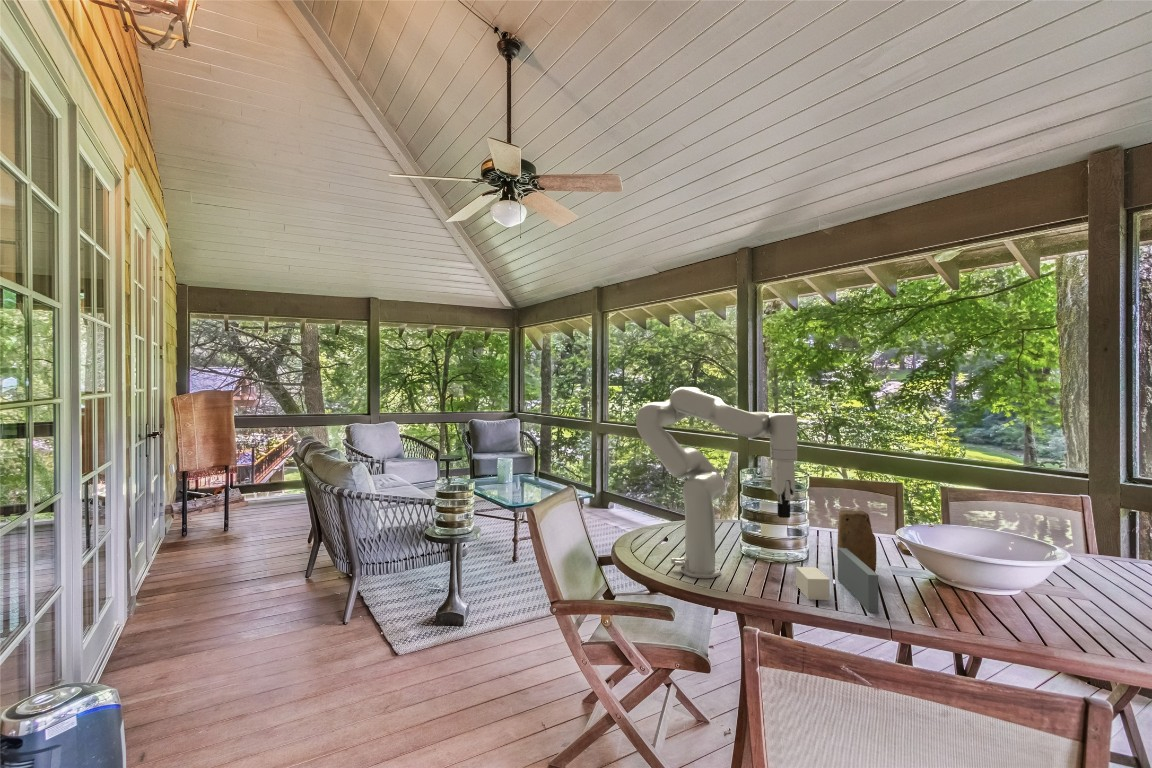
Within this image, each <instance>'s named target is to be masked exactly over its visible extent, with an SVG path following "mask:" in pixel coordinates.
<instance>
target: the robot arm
mask: <svg viewBox="0 0 1152 768" xmlns="http://www.w3.org/2000/svg"><path fill="white" fill-rule="evenodd" d="M796 415H797V414H796ZM796 415H795V413H790V412H787V413H786V412H776V413H773V412H768V411H767V412H766V411H752V412H749V411H747V410H743V409H741V408H740V409H739V408H737V407H733V406H731V405H728V404H726V403H725V402H724V400H723V399H722V398H721V397H720V396H719V397H718V396H716V395H712V394H709V393H706V392H703V391H702V390H701V389H700V388H698V387H694V386H680V387H677V388H675V389H674V390H673V391H672V392H671V394H670V396H669V398H668V400H666V401H653V402H648V403H646V404H645V403H644V405H642V406H641V407H640V408H639V409H638V412H637V414H636V420H635V421H636V422H635V425H636V429H637V432H638V434H639V436H640V438H641V440H642V441H643V442H644V443H645V444H646V445H647V447H649V449H650V450H651V452H653V454H654V455H655V457H656V458H657V459H658V460H659V461H660V462H661V464H662V465H663V467H664V468H665V469H666V470H667V472H668V473H669V474H670V475H671V476H672V477H674V478H676V479H677V478H678V479H682V478H688V479H687V480H686V481H685V482H684V484H683V487H682V498H683V505H684V521H685V522H684V523H685V524H684V525H685V526H684V528H685V529H684V530H685V531H684V535H685V537H684V538H685V539H684V540H685V541H684V542H685V543H684V545H685V550H684V551H685V552H684V553H685V554H683V556H680V557H679V558H678V557H671V559H670V563H671V564H672V565H674V564H675V565H674V566H678V567H680V572H681V573H682V574H683V575H685V576H687V577H691V578H695V579H713V578H716V577H718V576H720V575H721V569H720V568H719V567H718V566H717V565H716V514H715V509H714V504H713V501H715V500H718V499H720V498H721V497H722V496H723V495H724V494H725V492H726V482H725V480H724V478H723V476H722V474H720V472H719V471H718V470H717V469H716V468H715V466H713V464H712V463H711V462H710V460H709V459H707V457H706V456H705V455H704V454H703V453H702V452H701V451H700V450H698V449H697V448H694V447H682V446H681V445H680V443H678V442H677V441H676V439H675V438H674V437H673V435H672V434H671V433H669V432H668V431H667V430H666V429H664V427H665V426H671V425H673V424H675V423H678V422H680V421H682V420H684V419H685V418H687V417H689V416H690V417H693V418H696V419H699V420H702V421H705V422H708V423H710V424H712V425H714V426H716V427H717V428H719V429H721V430H724V431H727V432H729V433H732V434H734V435H738V436H741V437H743V438H748V439H749V438H750V439H754V438H755V439H756V438H759V437H765V436H769V459H770V461H771V476H770V477H771V479H770V490H772V491H773V493H775V494H776V495H777V517H778V518H779V519H780V518H781V519H782V518H783V519H784V518H785V519H790V518H791V496H794V495H795V493H796V491H795V490H796V473H795V472H796V469H795V462H797V461H798V418H797V416H796Z"/></svg>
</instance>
